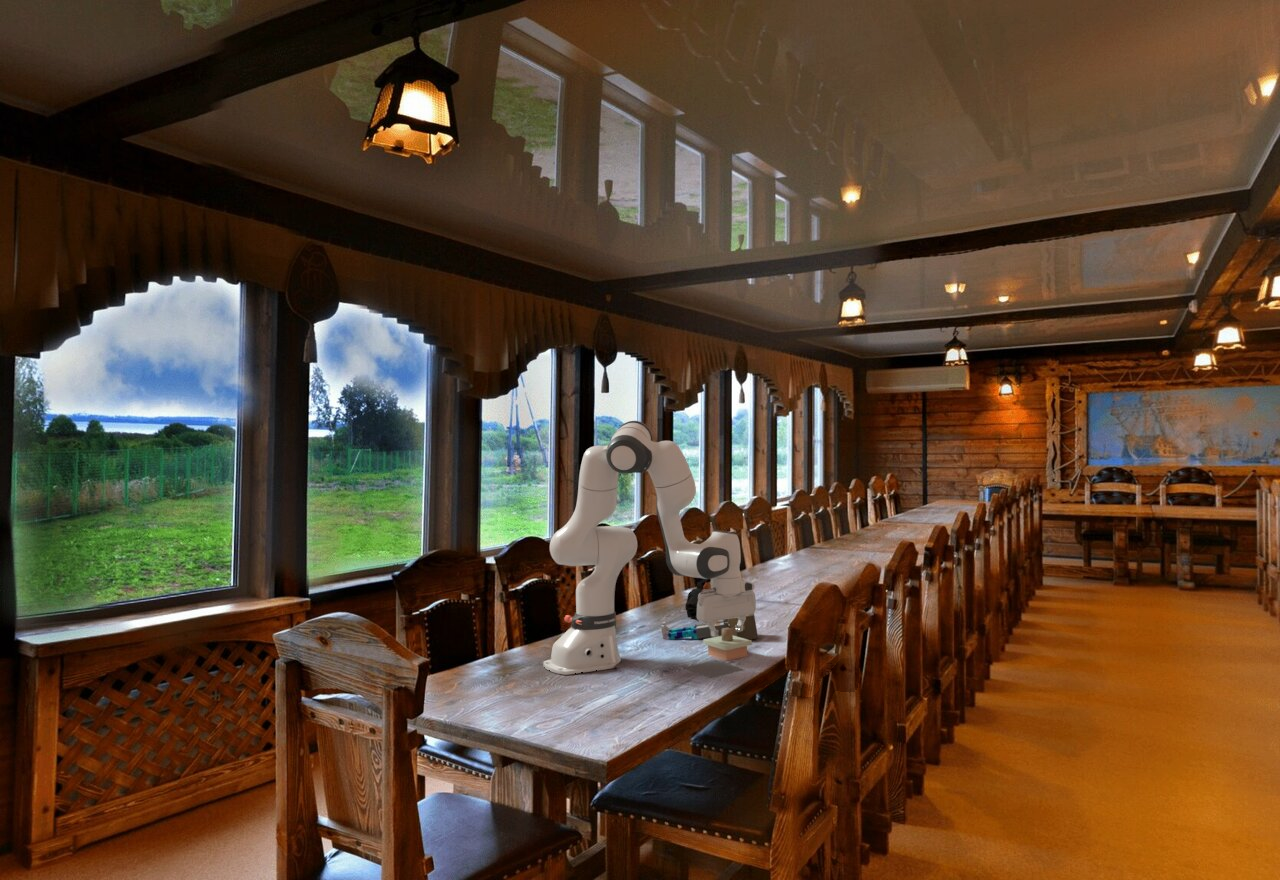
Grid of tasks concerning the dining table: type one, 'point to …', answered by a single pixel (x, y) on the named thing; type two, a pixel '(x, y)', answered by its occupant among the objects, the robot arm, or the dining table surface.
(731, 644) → the lid
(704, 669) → the mat
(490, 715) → the dining table surface
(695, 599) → the tool
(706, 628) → the toy
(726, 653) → the orange square open box
